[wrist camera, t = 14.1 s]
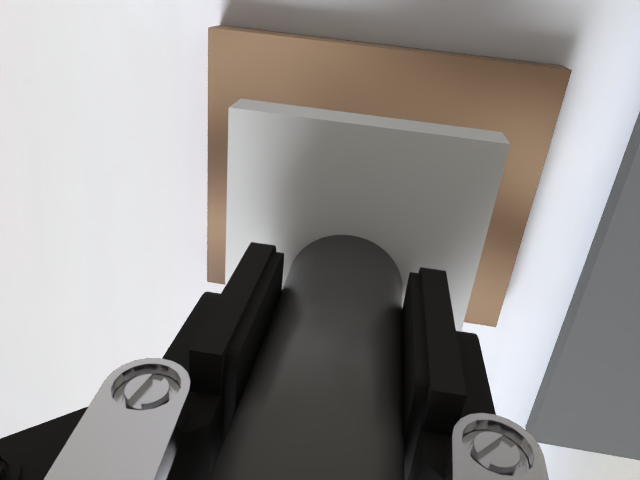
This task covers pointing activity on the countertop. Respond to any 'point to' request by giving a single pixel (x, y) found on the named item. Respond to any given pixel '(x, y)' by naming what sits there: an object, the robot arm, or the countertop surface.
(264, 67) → the plate
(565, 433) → the mat
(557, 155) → the countertop surface
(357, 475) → the grey post stand
